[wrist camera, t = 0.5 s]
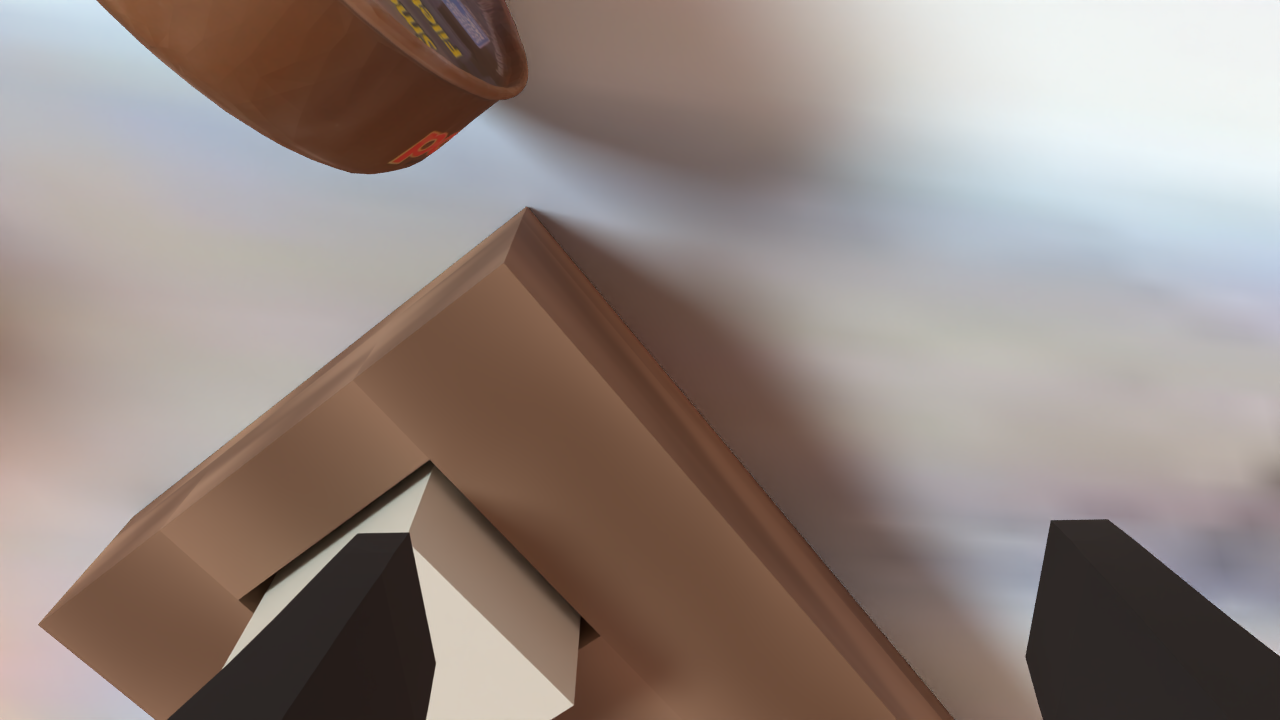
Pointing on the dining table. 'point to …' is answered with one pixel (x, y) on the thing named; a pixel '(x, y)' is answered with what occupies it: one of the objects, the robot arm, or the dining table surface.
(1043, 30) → the dining table surface
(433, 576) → the key
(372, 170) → the tin
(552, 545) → the panel
